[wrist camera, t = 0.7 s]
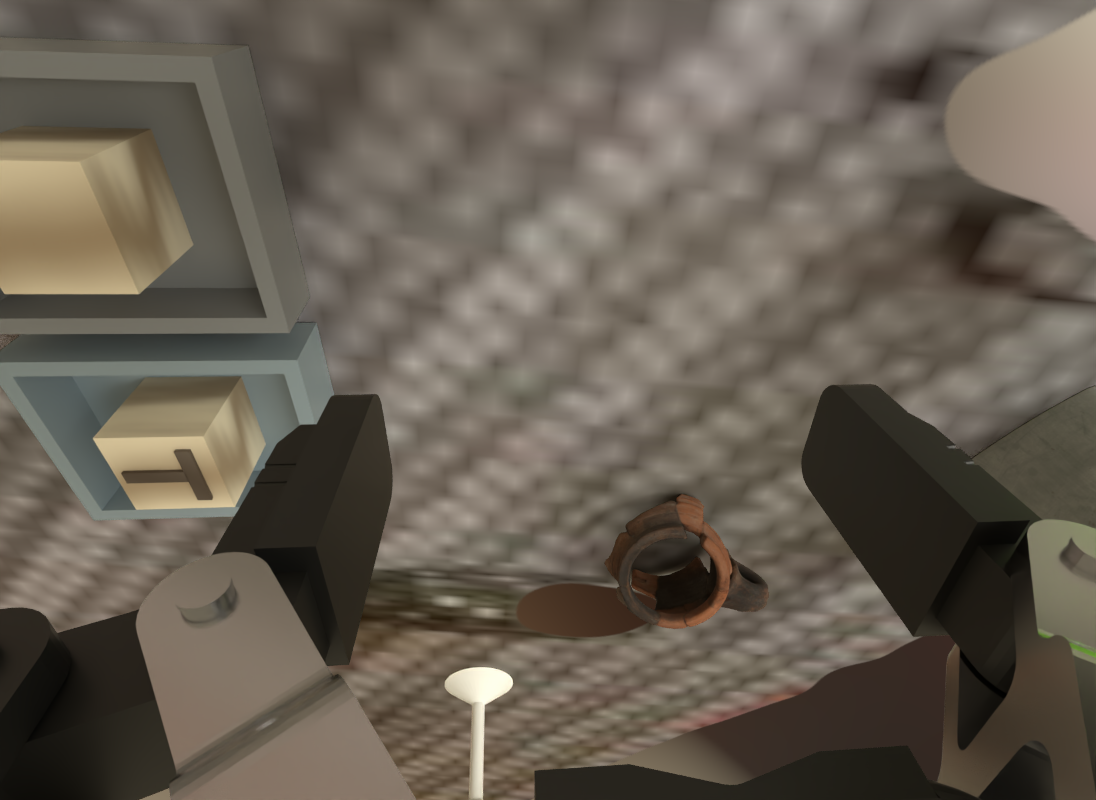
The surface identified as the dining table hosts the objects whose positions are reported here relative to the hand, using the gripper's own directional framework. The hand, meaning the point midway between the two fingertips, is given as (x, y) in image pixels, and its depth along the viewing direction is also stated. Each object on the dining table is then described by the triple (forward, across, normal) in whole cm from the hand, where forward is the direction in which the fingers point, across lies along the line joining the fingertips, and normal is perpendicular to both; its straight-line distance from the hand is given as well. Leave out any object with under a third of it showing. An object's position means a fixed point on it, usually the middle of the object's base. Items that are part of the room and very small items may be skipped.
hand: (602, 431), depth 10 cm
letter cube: (+20, +19, +12) cm, 30 cm away
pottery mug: (+22, -11, +25) cm, 35 cm away
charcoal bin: (+19, +19, -1) cm, 27 cm away
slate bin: (+20, +19, +12) cm, 30 cm away
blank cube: (+18, +19, -1) cm, 26 cm away
